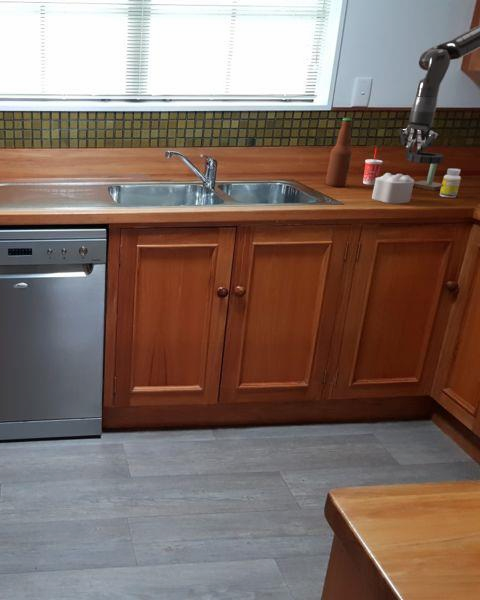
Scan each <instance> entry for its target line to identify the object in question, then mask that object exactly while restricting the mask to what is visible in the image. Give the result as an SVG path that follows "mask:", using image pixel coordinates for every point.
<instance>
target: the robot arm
mask: <svg viewBox="0 0 480 600" xmlns="http://www.w3.org/2000/svg"><path fill="white" fill-rule="evenodd" d="M478 49H480V25H478V26H476V27H473V28H472V29H469V30H467V31H465V32H463V33H461V34H459V35H457V36H456V37H454V38H452V39H450V40H448V41H445V42H443V43H440V44H437V45H435V46H432V47H430V48H428V49H427V50H425V51H424V52H422V53H421V54H420V57H419V58H418V66H419V68H420V69H421V70H423V71H426V74H425V76H424V78H421V79H420V80H419V81H418V82H417V86H416V91H415V96H414V99H413V101H412V106H411V110H410V115H409V118H408V119H409V120H408V125H407V126H406V128H403V129H402V128H401V129H399V130H398V134H399V137H400V142H401V146H404V147H405V148H406V150H405V155H404V156H405V159H406V160H407V157H408V153H409V152H414V148H413V147H414V146H415V143H417V147H416V150H415V152H416V154H418V155H422V152H424V149H425V150H426V149H429V148H430V147H431V145H432V144H433V143H434V141H435V140H436V139H437V138H438V137H439V133H438V132H435V131H433V128H432V127H433V122H434V118H435V115H436V110H437V105H438V97H439V92H440V89H441V85H442V82H443V80H444V79H445V76H446V74H447V72H448V70H449V68H450V65H451V61H452V60H458V59H461V58H463V57H465V56H467V55H469V54H471V53H473V52H474V51H477V50H478ZM427 137H428V138H427ZM426 139H427V140H426Z"/></svg>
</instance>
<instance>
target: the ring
mask: <svg viewBox="0 0 480 600" xmlns="http://www.w3.org/2000/svg"><path fill="white" fill-rule="evenodd" d="M444 159H445V156H444V154H441V153H437V152H430V151H423V152H422V155H418V154H416V151H412V152H409V153H408V157H407V159H406V160H407V161H408V162H412V163H417V164H428V165H429V164H430V165H431V164H437V165H438V164H443V163H444Z"/></svg>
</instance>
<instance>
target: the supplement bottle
mask: <svg viewBox="0 0 480 600" xmlns="http://www.w3.org/2000/svg"><path fill="white" fill-rule="evenodd" d="M460 174H461V169H460V168H447V171H446V174H445V175H444V176H443V179H442V182H441V184H442V186H441V189H440V190H439V196H440V197H443V198H448V199H454V198H456V197H457V196H458V191H459V187H460V183H461V179H462V177H461V175H460Z"/></svg>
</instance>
